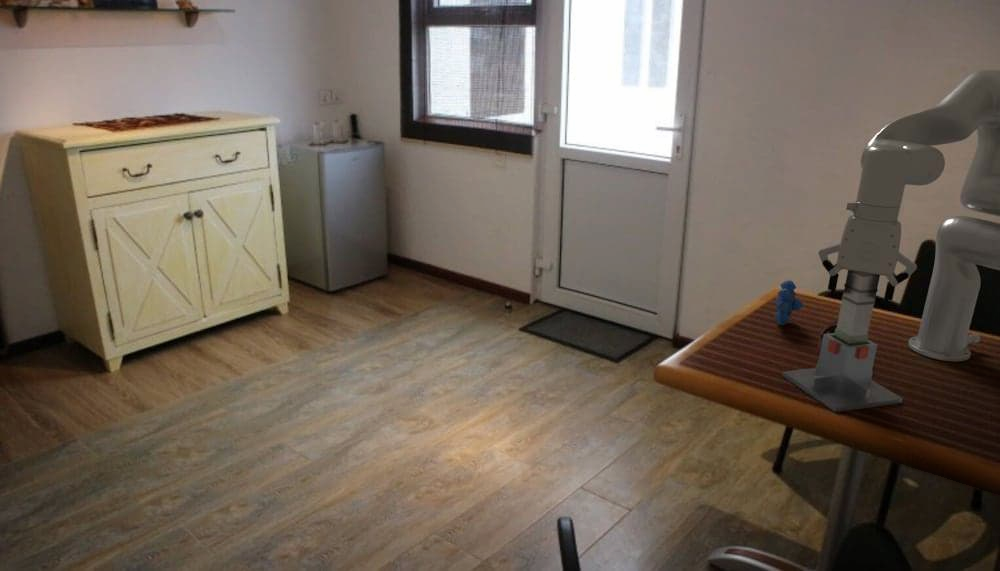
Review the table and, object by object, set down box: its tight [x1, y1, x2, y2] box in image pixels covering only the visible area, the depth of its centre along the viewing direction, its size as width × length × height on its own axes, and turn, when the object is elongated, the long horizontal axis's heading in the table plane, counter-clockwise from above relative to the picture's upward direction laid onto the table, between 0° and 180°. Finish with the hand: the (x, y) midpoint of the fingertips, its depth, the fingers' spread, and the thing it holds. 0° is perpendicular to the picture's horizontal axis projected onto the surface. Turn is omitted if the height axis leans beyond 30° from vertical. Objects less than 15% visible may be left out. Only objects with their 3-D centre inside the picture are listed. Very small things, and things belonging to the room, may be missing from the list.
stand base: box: [781, 333, 904, 413], centre depth 151 cm, size 16×16×11 cm
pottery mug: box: [817, 320, 838, 355], centre depth 170 cm, size 12×10×8 cm
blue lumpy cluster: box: [774, 279, 805, 326], centre depth 183 cm, size 12×7×12 cm, turn 150°
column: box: [834, 270, 881, 346], centre depth 148 cm, size 4×4×19 cm
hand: (858, 298), depth 146 cm, fingers open, 9 cm apart
